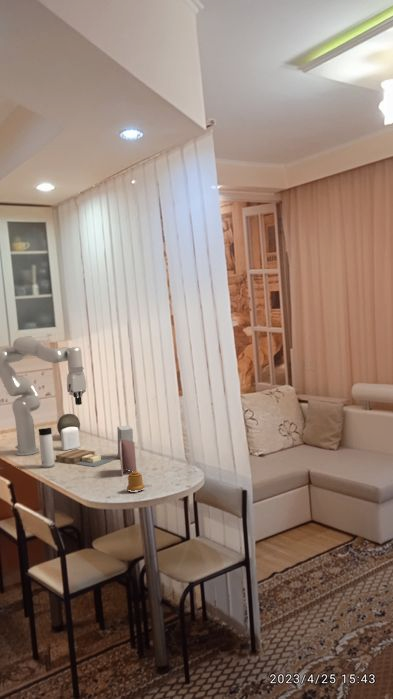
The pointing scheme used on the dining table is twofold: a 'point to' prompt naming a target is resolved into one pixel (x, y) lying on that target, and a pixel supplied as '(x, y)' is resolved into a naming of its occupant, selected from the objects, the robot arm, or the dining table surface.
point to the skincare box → (124, 435)
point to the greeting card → (127, 455)
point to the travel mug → (46, 448)
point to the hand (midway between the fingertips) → (78, 404)
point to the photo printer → (70, 438)
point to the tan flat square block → (73, 456)
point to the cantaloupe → (68, 422)
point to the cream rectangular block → (91, 458)
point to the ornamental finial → (135, 481)
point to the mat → (98, 463)
